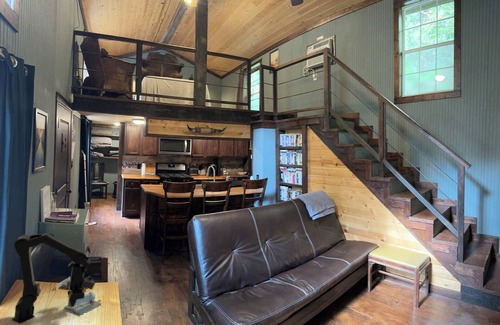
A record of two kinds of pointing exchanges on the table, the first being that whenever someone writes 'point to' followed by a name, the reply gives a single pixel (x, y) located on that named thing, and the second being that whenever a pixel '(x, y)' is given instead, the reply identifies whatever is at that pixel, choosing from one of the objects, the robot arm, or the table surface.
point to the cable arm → (86, 298)
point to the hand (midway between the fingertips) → (72, 306)
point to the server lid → (83, 307)
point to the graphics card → (65, 284)
